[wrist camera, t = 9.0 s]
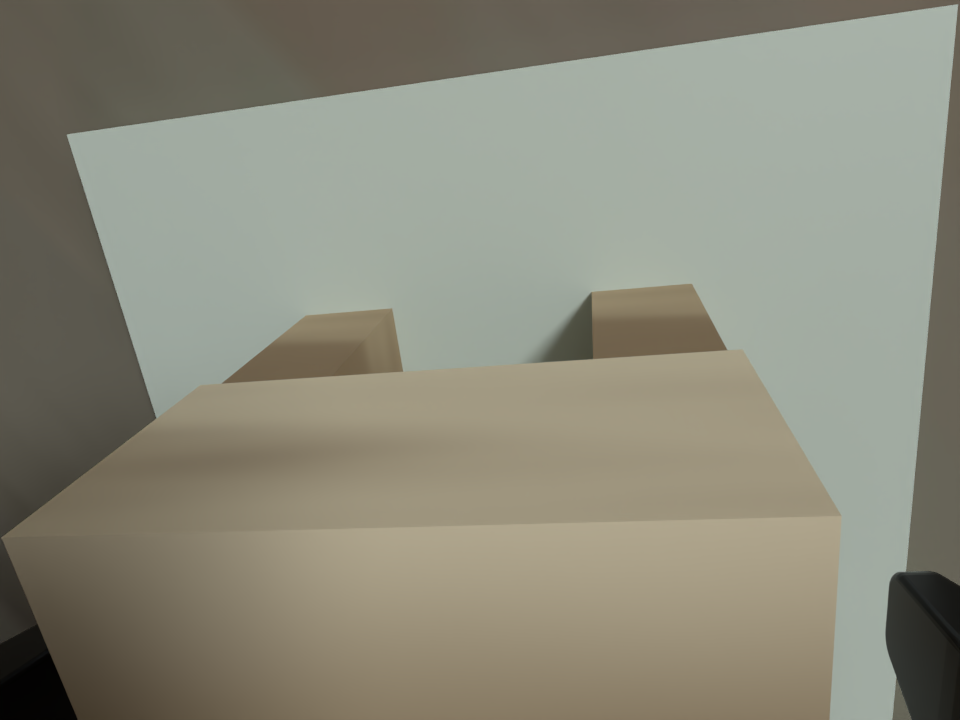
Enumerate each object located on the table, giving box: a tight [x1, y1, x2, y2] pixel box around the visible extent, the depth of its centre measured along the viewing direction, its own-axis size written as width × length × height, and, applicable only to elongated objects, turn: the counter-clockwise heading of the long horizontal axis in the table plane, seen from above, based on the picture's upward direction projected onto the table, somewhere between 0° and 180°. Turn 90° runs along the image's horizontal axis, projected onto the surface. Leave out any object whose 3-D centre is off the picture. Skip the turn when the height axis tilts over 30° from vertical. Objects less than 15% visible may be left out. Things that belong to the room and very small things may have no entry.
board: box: [67, 4, 958, 720], centre depth 12 cm, size 12×12×1 cm
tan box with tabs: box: [1, 284, 842, 720], centre depth 9 cm, size 6×6×6 cm
